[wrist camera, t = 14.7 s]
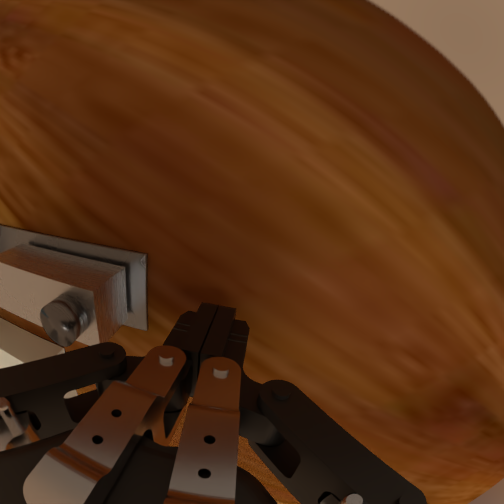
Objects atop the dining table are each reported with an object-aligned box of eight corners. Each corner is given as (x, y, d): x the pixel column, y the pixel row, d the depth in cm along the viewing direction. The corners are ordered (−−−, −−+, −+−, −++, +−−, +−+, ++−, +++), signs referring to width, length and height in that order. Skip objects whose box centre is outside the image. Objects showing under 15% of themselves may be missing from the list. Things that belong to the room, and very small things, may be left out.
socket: (63, 347, 17) (40, 371, 14) (100, 452, 21) (88, 473, 18) (-32, 298, 17) (-51, 311, 14) (7, 401, 21) (-5, 415, 19)
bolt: (125, 267, 14) (77, 304, 10) (127, 318, 14) (88, 364, 10) (22, 243, 14) (-26, 265, 10) (28, 287, 15) (-14, 315, 11)
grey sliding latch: (148, 231, 13) (104, 258, 10) (149, 344, 15) (119, 389, 12) (-34, 203, 14) (-69, 215, 10) (-24, 280, 16) (-55, 297, 12)
